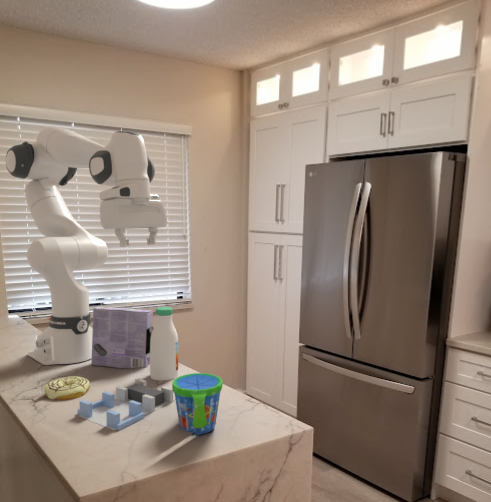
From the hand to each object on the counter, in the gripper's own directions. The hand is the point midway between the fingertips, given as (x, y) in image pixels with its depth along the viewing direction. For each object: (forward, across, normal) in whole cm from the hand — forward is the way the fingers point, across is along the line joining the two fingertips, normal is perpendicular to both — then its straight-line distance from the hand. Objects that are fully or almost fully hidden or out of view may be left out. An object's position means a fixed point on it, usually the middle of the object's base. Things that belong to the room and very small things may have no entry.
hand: (138, 245), depth 111 cm
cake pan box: (+36, -8, -20) cm, 42 cm away
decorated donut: (+36, +16, -14) cm, 42 cm away
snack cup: (+40, +11, +24) cm, 48 cm away
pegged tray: (+38, +14, +6) cm, 41 cm away
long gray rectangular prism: (+37, +9, +6) cm, 39 cm away
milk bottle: (+38, -6, -2) cm, 38 cm away
